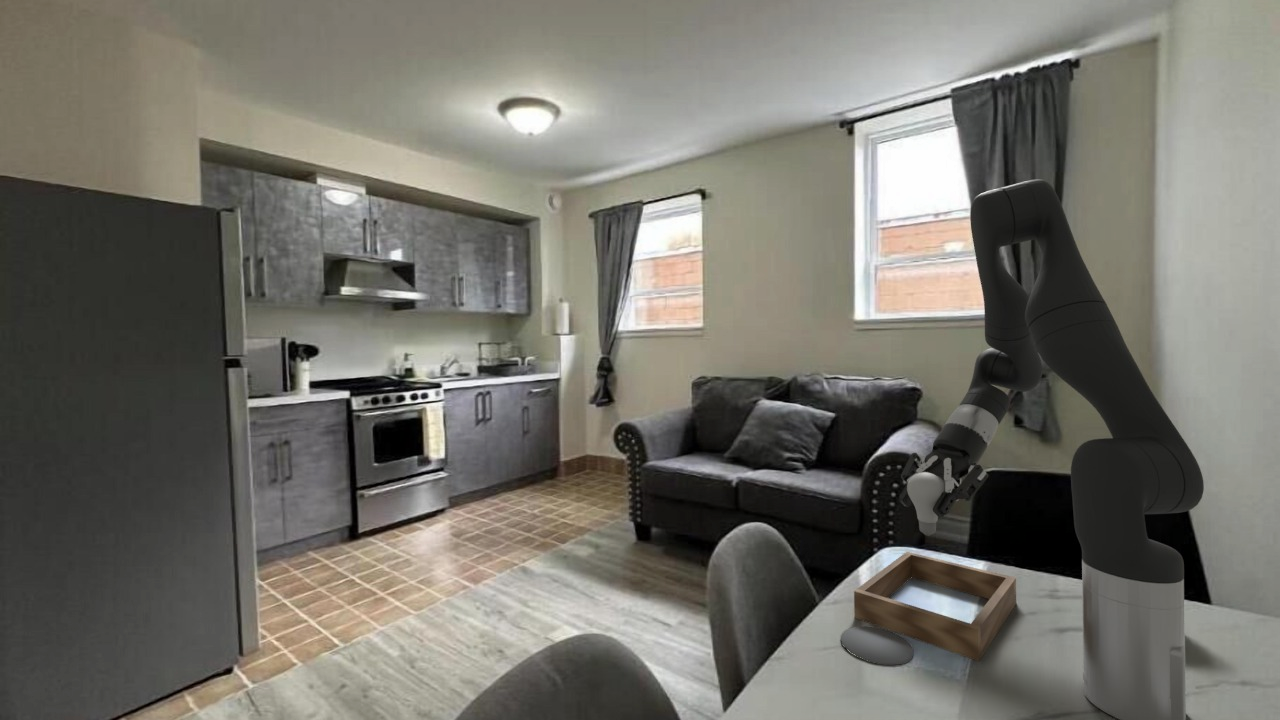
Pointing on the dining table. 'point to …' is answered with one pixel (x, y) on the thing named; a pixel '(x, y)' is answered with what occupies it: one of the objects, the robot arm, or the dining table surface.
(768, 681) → the dining table surface
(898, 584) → the shallow wooden tray
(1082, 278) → the robot arm
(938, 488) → the lightbulb
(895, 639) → the mat
